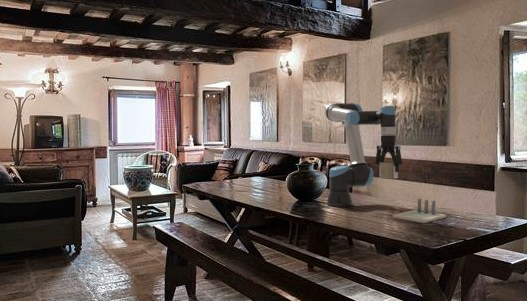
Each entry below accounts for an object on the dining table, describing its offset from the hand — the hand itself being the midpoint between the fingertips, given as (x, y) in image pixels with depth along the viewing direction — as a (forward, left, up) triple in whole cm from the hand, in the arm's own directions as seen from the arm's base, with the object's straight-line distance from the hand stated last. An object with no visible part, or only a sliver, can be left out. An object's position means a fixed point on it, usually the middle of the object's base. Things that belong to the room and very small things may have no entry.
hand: (388, 177), depth 230 cm
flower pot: (0, 0, -1) cm, 1 cm away
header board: (+15, +5, -20) cm, 25 cm away
